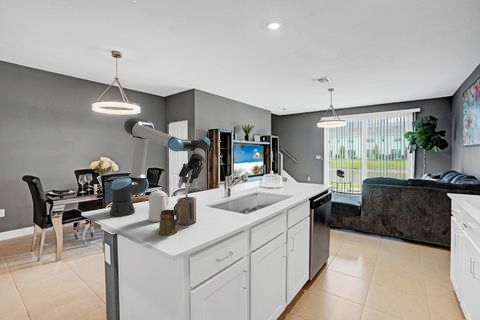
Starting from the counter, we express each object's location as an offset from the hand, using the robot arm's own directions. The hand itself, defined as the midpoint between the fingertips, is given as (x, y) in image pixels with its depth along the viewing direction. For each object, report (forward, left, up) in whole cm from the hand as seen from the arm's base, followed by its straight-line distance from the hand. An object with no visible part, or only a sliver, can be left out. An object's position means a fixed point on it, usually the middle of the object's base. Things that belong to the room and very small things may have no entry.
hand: (182, 187), depth 131 cm
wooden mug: (+9, -11, -21) cm, 26 cm away
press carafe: (-1, +3, -21) cm, 22 cm away
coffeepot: (-19, -8, -21) cm, 30 cm away
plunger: (-2, +3, -13) cm, 14 cm away
